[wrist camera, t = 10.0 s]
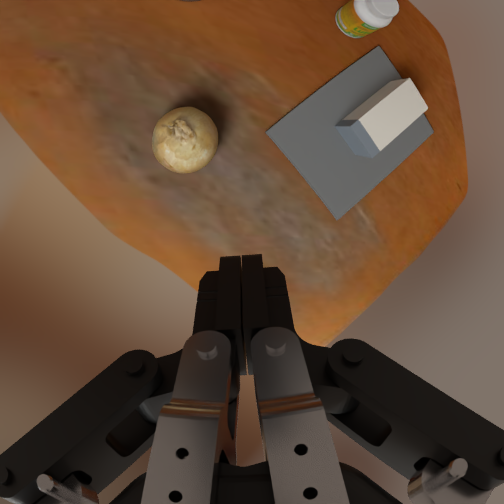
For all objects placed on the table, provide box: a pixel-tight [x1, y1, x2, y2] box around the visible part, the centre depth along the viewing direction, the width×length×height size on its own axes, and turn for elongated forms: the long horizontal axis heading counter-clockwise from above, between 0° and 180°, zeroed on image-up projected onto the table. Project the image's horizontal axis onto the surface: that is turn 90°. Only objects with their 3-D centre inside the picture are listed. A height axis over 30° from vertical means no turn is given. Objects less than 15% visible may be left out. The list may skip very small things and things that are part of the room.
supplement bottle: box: [336, 0, 399, 38], centre depth 30 cm, size 5×5×10 cm
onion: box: [152, 107, 218, 173], centre depth 35 cm, size 8×8×7 cm
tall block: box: [334, 78, 428, 158], centre depth 37 cm, size 5×5×12 cm
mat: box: [265, 46, 434, 220], centre depth 40 cm, size 22×16×1 cm
